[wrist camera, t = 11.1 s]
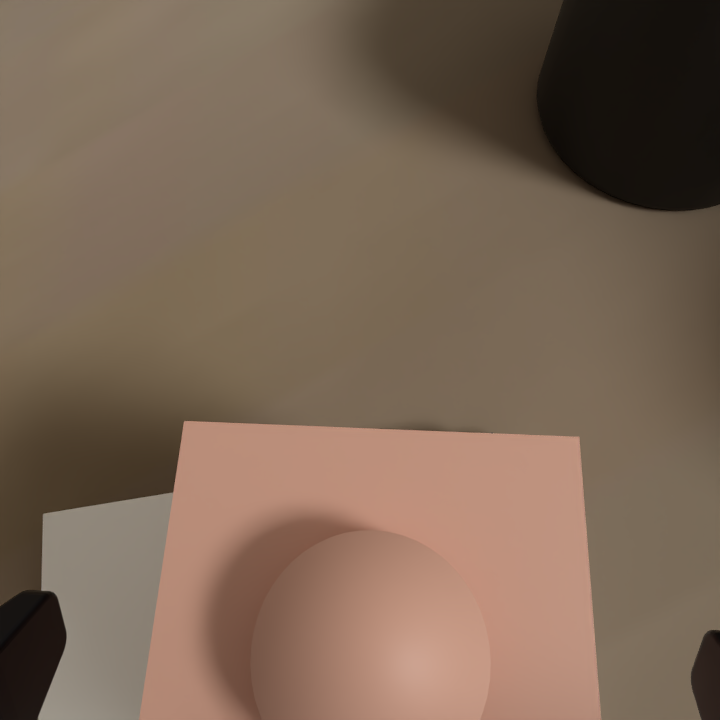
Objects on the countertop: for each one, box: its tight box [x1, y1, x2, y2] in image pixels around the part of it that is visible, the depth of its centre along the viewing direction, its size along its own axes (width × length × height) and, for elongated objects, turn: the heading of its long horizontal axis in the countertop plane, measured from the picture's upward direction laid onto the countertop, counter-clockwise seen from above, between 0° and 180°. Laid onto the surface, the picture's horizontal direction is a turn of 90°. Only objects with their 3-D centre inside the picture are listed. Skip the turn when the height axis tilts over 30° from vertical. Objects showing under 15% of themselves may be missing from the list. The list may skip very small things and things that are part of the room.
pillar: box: [139, 421, 601, 720], centre depth 11 cm, size 5×5×11 cm
